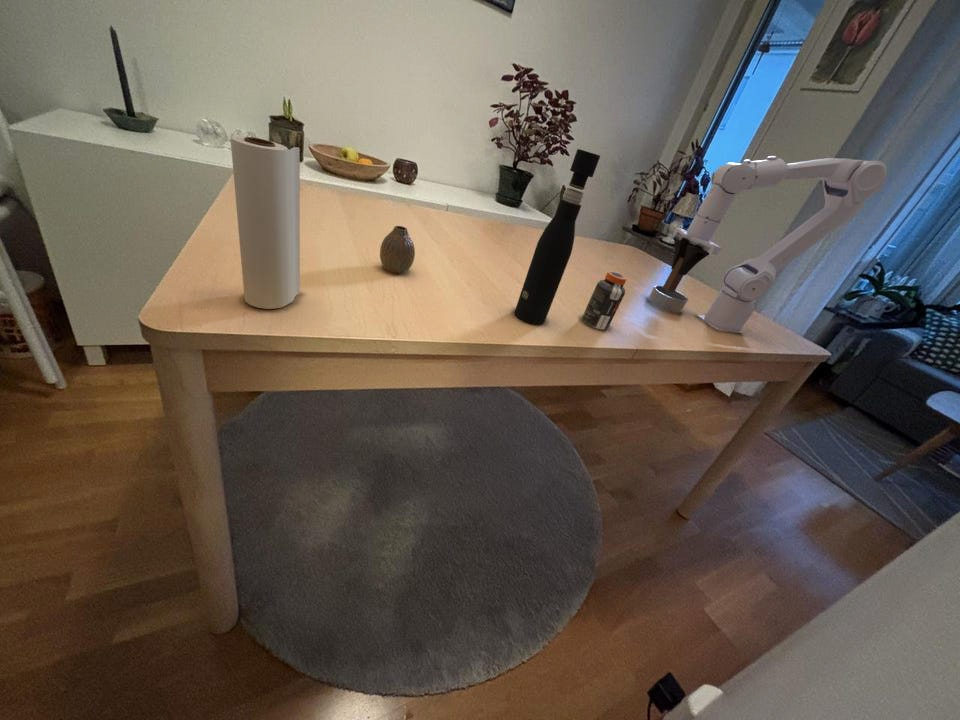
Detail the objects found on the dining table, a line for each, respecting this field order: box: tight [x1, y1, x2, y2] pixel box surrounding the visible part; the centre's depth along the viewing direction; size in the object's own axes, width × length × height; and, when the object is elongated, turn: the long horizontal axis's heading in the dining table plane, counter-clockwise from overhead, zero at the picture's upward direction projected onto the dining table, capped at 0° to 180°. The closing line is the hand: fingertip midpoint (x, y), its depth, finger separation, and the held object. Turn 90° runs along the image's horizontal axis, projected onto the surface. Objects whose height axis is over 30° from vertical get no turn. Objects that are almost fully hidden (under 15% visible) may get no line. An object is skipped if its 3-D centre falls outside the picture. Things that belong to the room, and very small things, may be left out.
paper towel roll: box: [229, 135, 301, 310], centre depth 51 cm, size 7×6×21 cm
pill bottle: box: [581, 270, 628, 330], centre depth 79 cm, size 6×6×11 cm
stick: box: [662, 257, 685, 292], centre depth 97 cm, size 2×2×8 cm
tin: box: [647, 285, 689, 314], centre depth 105 cm, size 9×9×4 cm
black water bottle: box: [514, 148, 601, 326], centre depth 68 cm, size 6×6×30 cm
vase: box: [379, 225, 416, 275], centre depth 76 cm, size 7×7×9 cm
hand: (678, 272), depth 97 cm, fingers closed on stick, 2 cm apart
